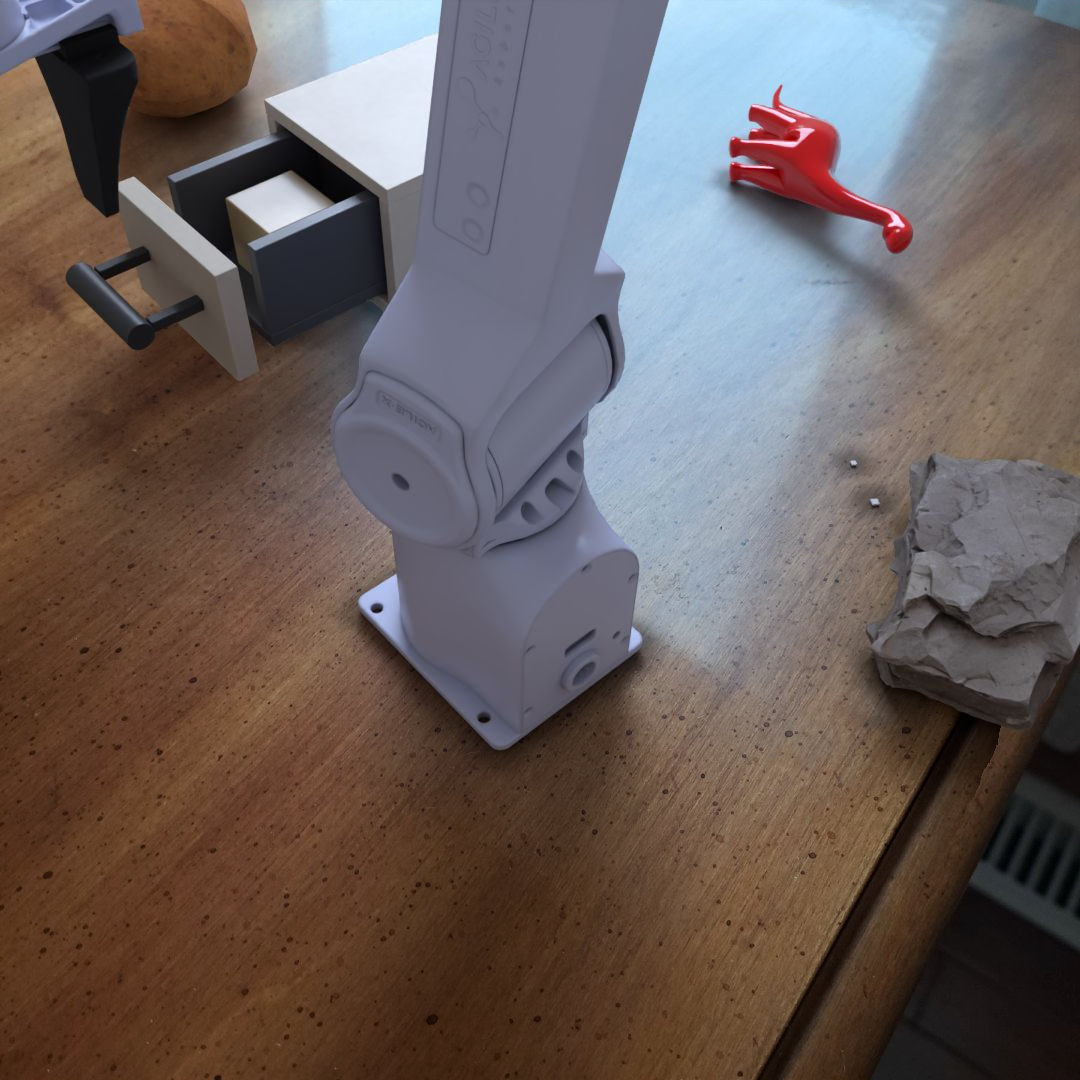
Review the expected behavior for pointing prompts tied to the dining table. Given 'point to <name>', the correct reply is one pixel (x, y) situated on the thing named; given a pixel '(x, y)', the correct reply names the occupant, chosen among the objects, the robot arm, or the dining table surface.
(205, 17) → the potato
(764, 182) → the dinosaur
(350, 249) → the drawer
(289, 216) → the block
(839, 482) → the dining table surface
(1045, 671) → the rock
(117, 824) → the dining table surface
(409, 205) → the cabinet
